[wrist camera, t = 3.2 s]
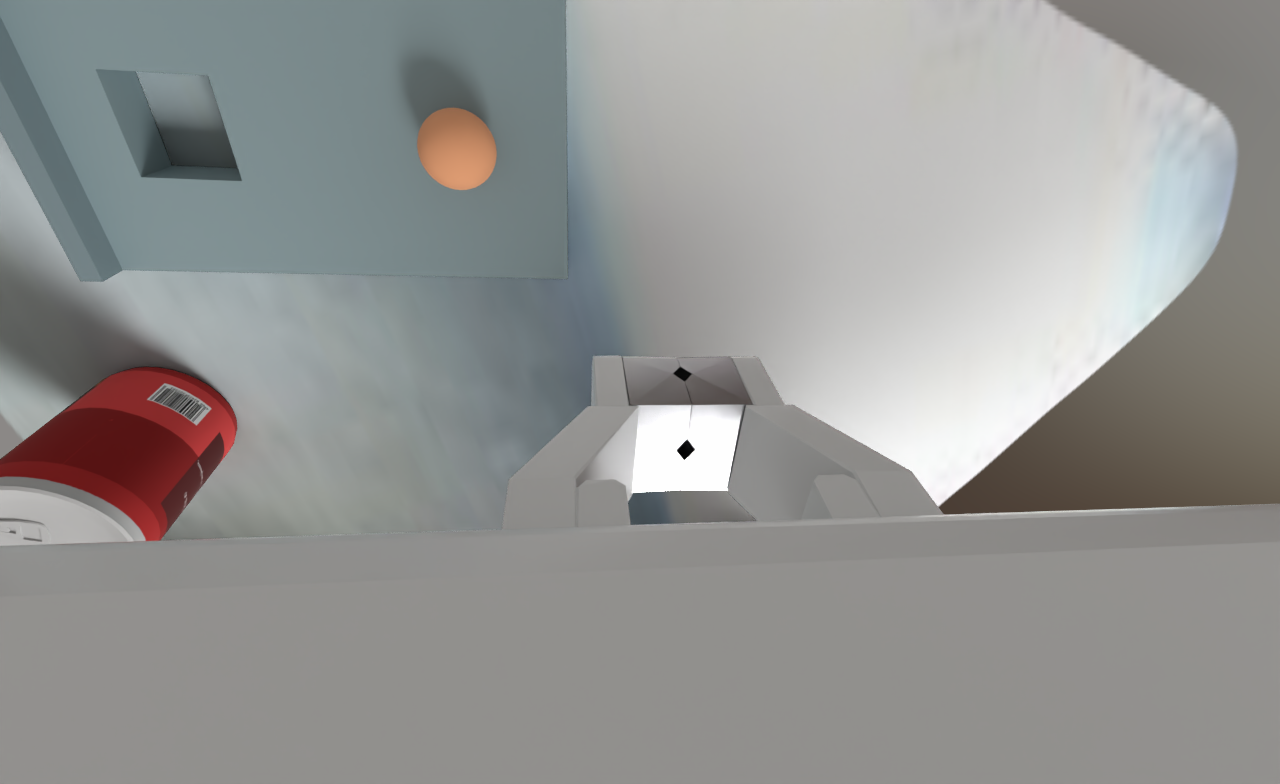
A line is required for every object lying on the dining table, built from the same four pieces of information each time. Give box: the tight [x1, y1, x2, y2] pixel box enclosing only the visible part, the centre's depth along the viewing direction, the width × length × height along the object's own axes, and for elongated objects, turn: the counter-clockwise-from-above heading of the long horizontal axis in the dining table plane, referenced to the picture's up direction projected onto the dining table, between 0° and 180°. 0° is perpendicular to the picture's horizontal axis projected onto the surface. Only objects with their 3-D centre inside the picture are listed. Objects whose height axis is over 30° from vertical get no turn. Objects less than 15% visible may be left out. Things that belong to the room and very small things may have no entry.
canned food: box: [0, 367, 237, 546], centre depth 32 cm, size 8×8×11 cm
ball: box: [417, 108, 497, 190], centre depth 26 cm, size 4×4×4 cm
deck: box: [0, 0, 568, 282], centre depth 27 cm, size 24×14×4 cm, turn 86°
